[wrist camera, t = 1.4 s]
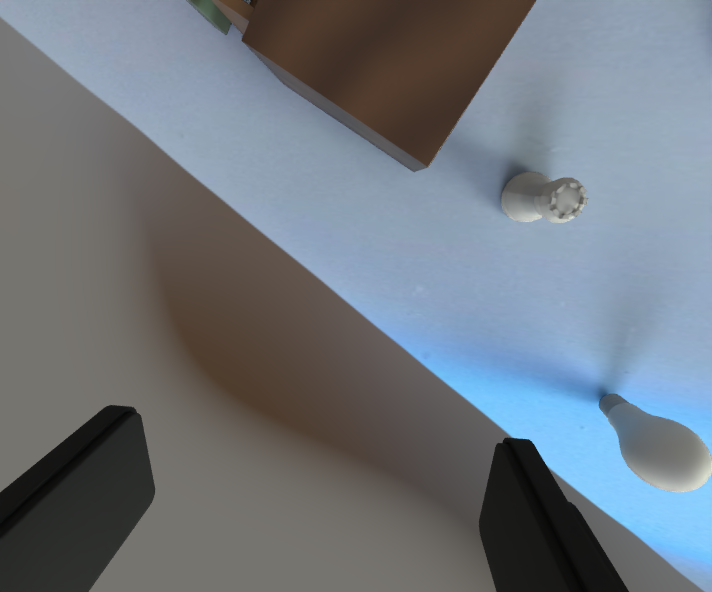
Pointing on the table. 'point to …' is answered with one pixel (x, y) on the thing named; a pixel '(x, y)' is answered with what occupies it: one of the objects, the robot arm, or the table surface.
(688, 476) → the lightbulb
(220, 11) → the drawer
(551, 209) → the rook chess piece
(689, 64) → the table surface
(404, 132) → the cabinet
